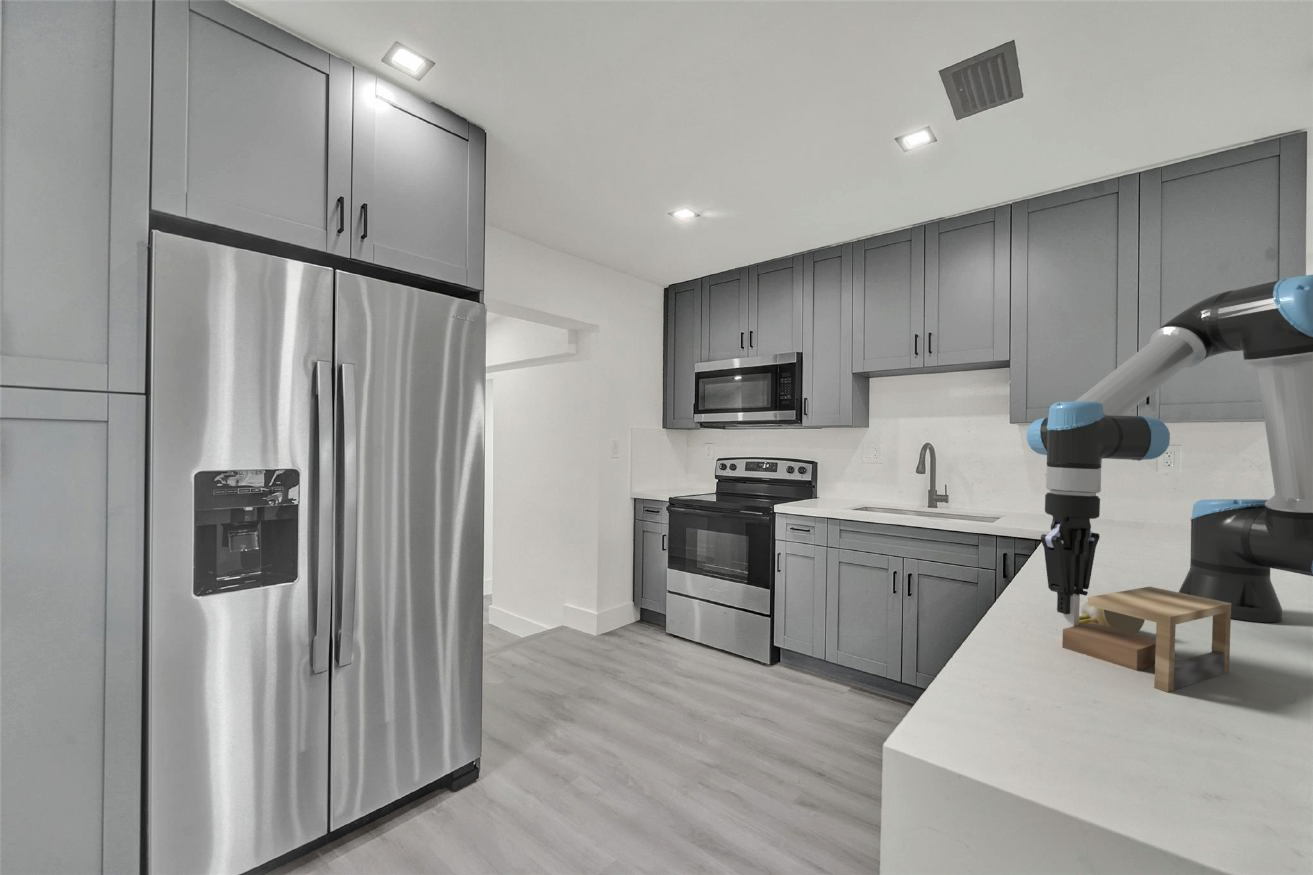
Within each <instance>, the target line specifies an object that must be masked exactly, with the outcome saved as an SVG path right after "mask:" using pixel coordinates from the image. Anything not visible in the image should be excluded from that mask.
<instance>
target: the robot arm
mask: <svg viewBox="0 0 1313 875" xmlns="http://www.w3.org/2000/svg"><path fill="white" fill-rule="evenodd" d="M1240 351H1242V353H1243V354H1242V355H1243V360H1244V362H1245V363H1247V364H1249V365H1251V366H1252V367H1255V368H1256V370H1257V374H1258V382H1259V389H1260V395H1261V396H1260V397H1261V403H1262V405H1261V406H1262V411H1263V417H1264V425H1265V432H1266V438H1267V439H1266V441H1267V444H1268V454H1269V459H1270V462H1269V463H1270V466H1271V475H1272V483H1273V488H1274V495H1273V496H1272V497H1270V498H1269V499H1265V498H1263V499H1260V498H1258V499H1255V498H1254V499H1248V498H1247V499H1245V498H1241V499H1240V498H1239V499H1237V498H1236V499H1233V498H1232V499H1227V498H1226V499H1221V498H1220V499H1218V498H1217V499H1216V498H1215V499H1200V500H1197V501H1196V502H1195V503H1194V504H1193V506H1192V512H1191V518H1190V567H1189V570H1188V572H1187V574H1186V576H1185V578H1184V579H1183V582H1182V584H1181V586H1180V588H1179V590H1178V592H1179V593H1184V594H1188V595H1193V596H1198V597H1203V598H1208V599H1213V600H1217V601H1222V602H1227V603H1231V619H1234V620H1241V621H1246V622H1247V621H1248V622H1249V621H1250V622H1255V623H1256V622H1259V623H1278V622H1281V621H1282V620H1283V607H1282V605H1281V602H1280V600H1279V597H1278V595H1277V593H1276V590H1275V588H1274V586H1273V583H1272V581H1271V569H1274V570H1278V571H1279V570H1280V571H1285V572H1290V573H1294V574H1301V575H1305V576H1309V577H1313V274H1307V275H1306V274H1305V275H1299V276H1294V277H1293V276H1291V277H1286V278H1283V279H1279V280H1273V281H1270V282H1266V283H1262V284H1257V285H1251V286H1248V287H1244V288H1239V289H1235V290H1229V291H1225V292H1224V291H1223V292H1220V293H1218V294H1214V295H1212V296H1209V297H1207V298H1205V299H1203V300H1201V301H1199V302H1197V303H1195V304H1193V305H1191V306H1190V307H1189V308H1187V309H1185V310H1183V311H1182V312H1181V313H1179V314H1177V315H1175V316H1174V317H1173V318H1171V319H1170V320H1169V321H1167V322H1166V323H1165V324H1163V325H1162V326H1161V327H1160V328H1158V329H1157V330H1155V331H1154V332H1153V333H1152V335H1151V336H1150V339H1149V343H1147V345H1145V346H1144V347H1143V348H1141V349H1140V350H1139V351H1137V352H1136V353H1135V354H1133V355H1132V356H1131V357H1130V358H1129V359H1127V360H1126V361H1124V362H1122V364H1121V365H1120V366H1118V367H1117V368H1116V369H1114V370H1113V371H1112V372H1110V374H1108V375H1107V376H1106V377H1104V378H1103V379H1102V380H1100V381H1099V382H1098V383H1096V384H1095V385H1094V386H1092V387H1091V388H1090V389H1089V390H1088V391H1086V392H1085V393H1084V394H1083V395H1081V396H1080V397H1078V398H1077V399H1076V400H1074V401H1057V402H1054V403H1052V404H1051V405H1050V407H1049V412H1048V416H1046V417H1043V418H1038V419H1036V420H1034V421H1032V422H1031V423H1030V424H1029V427H1028V428H1027V432H1026V441H1027V444H1028V446H1029V447H1030V449H1031V450H1032V451H1033V452H1035V453H1036V454H1039V455H1042V456H1046V472H1045V477H1046V480H1045V481H1046V482H1045V483H1046V484H1045V488H1046V489H1047V490H1049V492H1046V494H1045V495H1044V496H1045V498H1044V512H1045V513H1046V515H1049V516H1052V520H1051V524H1050V532H1049V533H1048V534H1041V535H1040V542H1041V544H1042V546H1043V550H1044V558H1045V560H1044V561H1045V568H1046V578H1047V586H1048V589H1049V590H1050V591H1051V592H1055V593H1056V594H1057V597H1056V622H1055V623H1056V625H1055V630H1056V631H1059V632H1062V633H1063V629H1065V628H1069V627H1073V626H1077V625H1079V616H1080V600H1081V595H1082V596H1087V595H1088V594H1089V591H1087V590H1089V588H1090V582H1091V576H1092V571H1093V565H1094V561H1095V560H1094V559H1095V555H1096V549H1097V545H1098V543H1099V541H1100V534H1099V533H1097V532H1093V531H1092V530H1091V528H1092V525H1091V520H1092V519H1093V520H1095V519H1098V518H1099V517H1100V516H1101V515H1100V513H1101V512H1100V510H1101V498H1100V497H1099V496H1098V495H1097V494H1099V493H1101V492H1102V488H1101V487H1102V486H1101V485H1102V461H1103V459H1109V460H1129V461H1130V460H1132V461H1139V462H1140V461H1143V460H1149V461H1150V460H1154V459H1157V458H1159V457H1161V456H1163V454H1165V452H1166V451H1167V450H1168V448H1169V446H1170V442H1171V441H1170V440H1171V438H1170V437H1171V433H1170V431H1169V428H1168V426H1167V425H1166V424H1165V423H1164V422H1163V421H1162V420H1160V419H1157V418H1155V417H1152V416H1151V417H1149V416H1144V415H1127V414H1128V413H1129V412H1130V411H1132V410H1133V409H1134V408H1136V407H1137V406H1139V404H1141V403H1142V402H1143V401H1144V400H1146V399H1147V398H1148V397H1150V396H1151V395H1152V394H1153V393H1154V392H1156V391H1157V390H1159V389H1160V388H1161V387H1162V386H1164V385H1165V384H1166V383H1167V382H1168V381H1169V380H1171V379H1172V378H1174V377H1175V376H1176V375H1177V374H1179V373H1180V372H1181V371H1182V370H1184V369H1185V368H1186V369H1187V368H1192V367H1195V366H1198V365H1200V363H1202V362H1203V361H1204V360H1205V359H1208V358H1210V357H1213V356H1217V355H1220V354H1224V353H1230V352H1240Z"/></svg>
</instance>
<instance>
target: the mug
mask: <svg viewBox="0 0 1313 875" xmlns="http://www.w3.org/2000/svg"><path fill="white" fill-rule="evenodd" d="M1080 612H1081V615H1079V625H1081V624H1085V623H1089V622H1094V623H1097V624H1101V625H1105V626H1109V627H1113V628H1117V629H1120V630H1124V631H1128V632H1132V633H1136V634H1138V632H1139V631H1140V630H1141V629H1142V627H1143V626H1144V624H1145V621H1146V620H1145V619H1141V618H1137V617H1133V616H1129V615H1125V614H1121V613H1117V612H1113V611H1109V610H1105V609H1101V608H1097V607H1093V606H1089V605H1088V601H1087V602H1085V603H1083V604H1082V605H1081V608H1080Z"/></svg>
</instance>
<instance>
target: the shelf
mask: <svg viewBox="0 0 1313 875" xmlns="http://www.w3.org/2000/svg"><path fill="white" fill-rule="evenodd" d="M1087 602H1088V605H1089V606H1093V607H1097V608H1101V609H1105V610H1109V611H1113V612H1117V613H1121V614H1125V615H1129V616H1133V617H1137V618H1141V619H1145V621H1150V622H1153V623H1156V624H1155V625H1156V627H1155V628H1156V629H1155V630H1156V632H1155V639H1156V653H1155V664H1154V687H1153V688H1154V689H1157V690H1160V691H1163V692H1166V693H1170V692H1172V691H1173V692H1174V691H1176V690H1179V689H1181V688H1184V687H1189V686H1191V685H1194V684H1197V683H1199V682H1202V681H1206V680H1208V679H1211V678H1214V677H1217V676H1220V675H1224V674H1226V673H1229V672H1230V657H1231V656H1230V653H1231V624H1232V623H1231V622H1232V620H1231V619H1232V618H1231V603H1227V602H1222V601H1217V600H1213V599H1208V598H1203V597H1198V596H1193V595H1188V594H1184V593H1179V591H1173V590H1168V589H1164V588H1160V587H1153V586H1146V587H1139V588H1133V589H1129V590H1128V589H1127V590H1122V591H1117V592H1112V593H1111V592H1110V593H1105V594H1099V595H1093V596H1092V595H1091V596H1088V597H1087ZM1209 617H1212V632H1211V633H1212V634H1211V635H1212V636H1211V652H1207V653H1204V654H1199V655H1197V656H1193V657H1190V658H1187V659H1183V660H1180V661H1176V662H1175V660H1176V658H1175V657H1176V654H1175V652H1176V626H1177V625H1179V624H1184V623H1189V622H1193V621H1196V620H1200V619H1204V618H1209Z"/></svg>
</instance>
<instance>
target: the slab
mask: <svg viewBox="0 0 1313 875" xmlns="http://www.w3.org/2000/svg"><path fill="white" fill-rule="evenodd" d="M1061 647H1062V649H1064V650H1069V651H1071V652H1075V653H1078V654H1081V655H1084V654H1085V655H1084V656H1088V657H1091V658H1095V659H1097V660H1100V661H1103V662H1108V663H1111V664H1114V665H1117V666H1120V667H1122V668H1123V667H1124V668H1126V669H1129V670H1133V671H1136V672H1138V671H1140V670H1142V669H1145V668H1148V667H1151V666H1155V653H1156V637H1155V638H1154V637H1152V636H1147V635H1144V634H1139V633H1132V632H1128V631H1124V630H1120V629H1117V628H1113V627H1109V626H1105V625H1101V624H1097V623H1094V622H1089V623H1085V624H1081V625H1077V626H1073V627H1069V628H1065V629H1063V632H1062V646H1061Z"/></svg>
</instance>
